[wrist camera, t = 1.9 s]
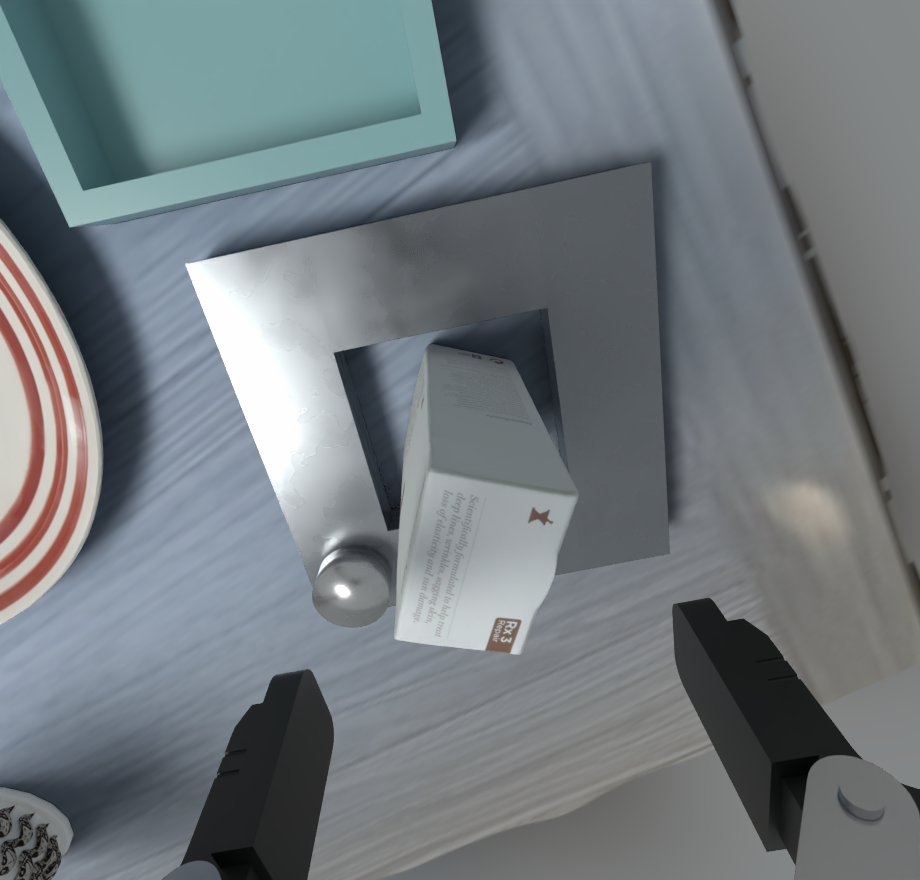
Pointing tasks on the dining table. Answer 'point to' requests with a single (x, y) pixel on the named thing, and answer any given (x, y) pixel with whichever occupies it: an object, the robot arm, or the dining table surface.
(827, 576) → the dining table surface
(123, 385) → the dining table surface
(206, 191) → the tray
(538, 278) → the socket block
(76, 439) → the dinner plate
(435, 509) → the skincare box
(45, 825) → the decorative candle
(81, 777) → the dining table surface
